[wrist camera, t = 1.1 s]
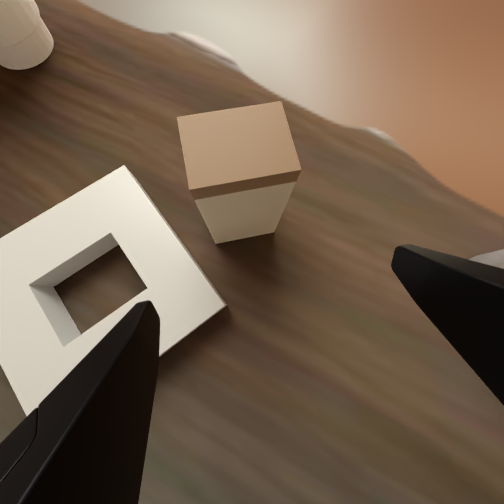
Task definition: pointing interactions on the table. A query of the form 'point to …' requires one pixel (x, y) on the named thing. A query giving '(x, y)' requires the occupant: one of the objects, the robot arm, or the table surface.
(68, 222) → the socket plate
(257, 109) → the tan topped cream pillar
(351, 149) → the table surface
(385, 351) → the table surface
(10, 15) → the cup
